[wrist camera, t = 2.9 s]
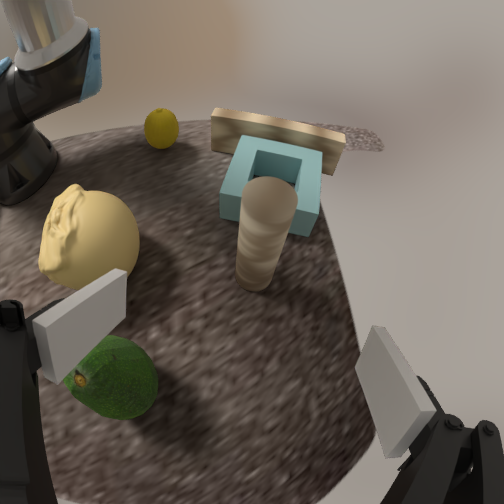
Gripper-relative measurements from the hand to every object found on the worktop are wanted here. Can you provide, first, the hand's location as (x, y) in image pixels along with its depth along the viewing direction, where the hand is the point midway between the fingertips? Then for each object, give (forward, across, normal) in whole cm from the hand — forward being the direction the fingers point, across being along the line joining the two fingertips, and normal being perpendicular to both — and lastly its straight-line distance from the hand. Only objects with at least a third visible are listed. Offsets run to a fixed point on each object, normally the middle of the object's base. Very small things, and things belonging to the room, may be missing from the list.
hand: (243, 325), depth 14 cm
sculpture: (+18, -19, -6) cm, 27 cm away
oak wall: (+35, -1, +11) cm, 36 cm away
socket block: (+29, 0, +5) cm, 29 cm away
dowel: (+20, 0, -4) cm, 20 cm away
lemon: (+33, -19, +9) cm, 40 cm away
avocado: (+9, -10, -16) cm, 20 cm away
